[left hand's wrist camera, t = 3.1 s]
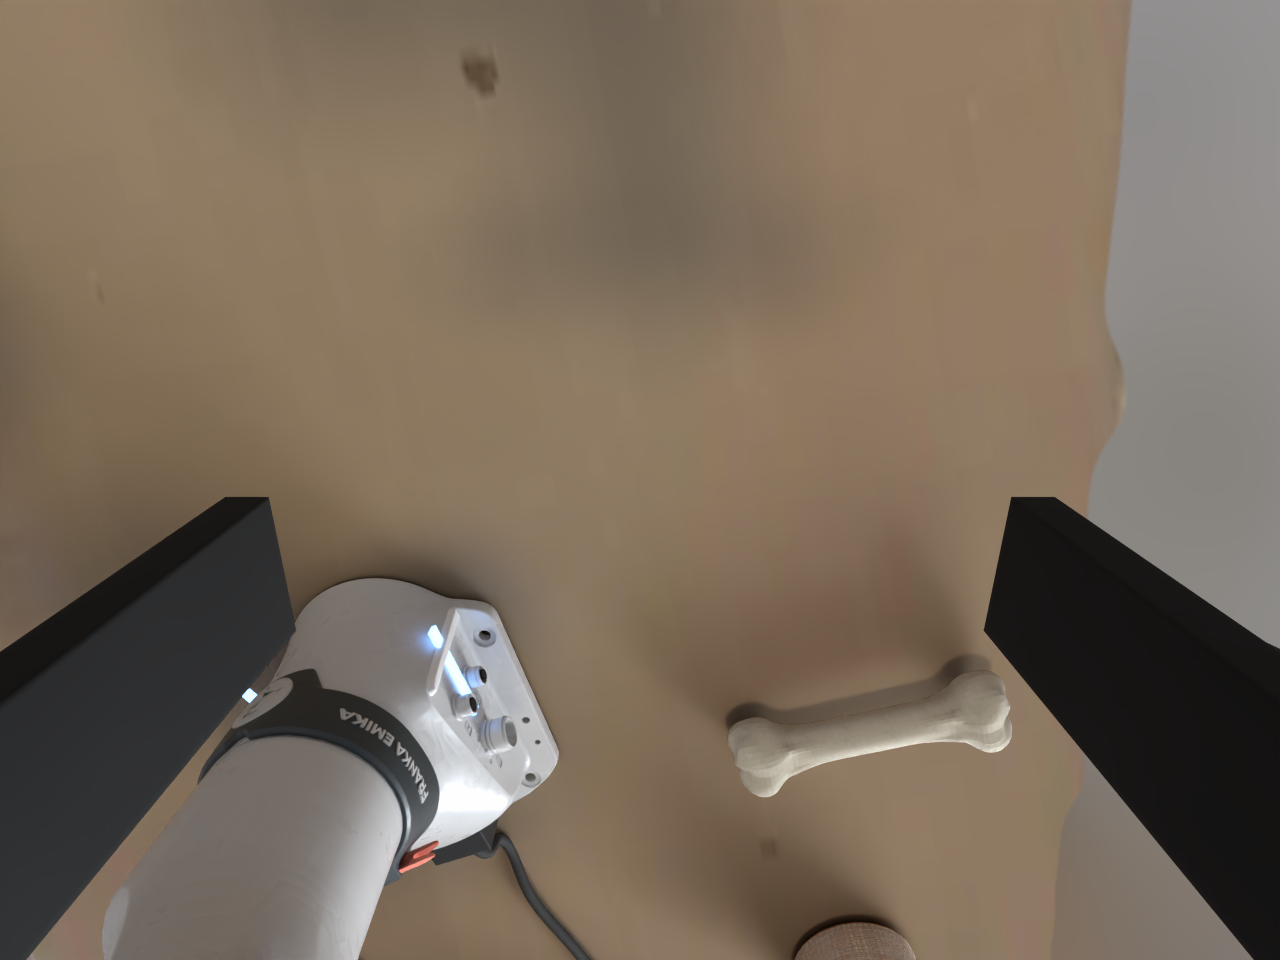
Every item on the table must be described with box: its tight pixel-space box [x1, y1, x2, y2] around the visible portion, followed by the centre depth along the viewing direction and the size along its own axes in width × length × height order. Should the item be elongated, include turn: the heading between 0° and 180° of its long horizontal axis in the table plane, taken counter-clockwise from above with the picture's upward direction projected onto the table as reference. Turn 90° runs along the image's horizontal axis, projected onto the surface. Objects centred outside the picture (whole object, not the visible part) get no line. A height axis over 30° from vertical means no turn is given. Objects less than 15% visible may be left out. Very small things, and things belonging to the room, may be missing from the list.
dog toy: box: [728, 670, 1012, 797], centre depth 51 cm, size 20×6×5 cm, turn 105°
